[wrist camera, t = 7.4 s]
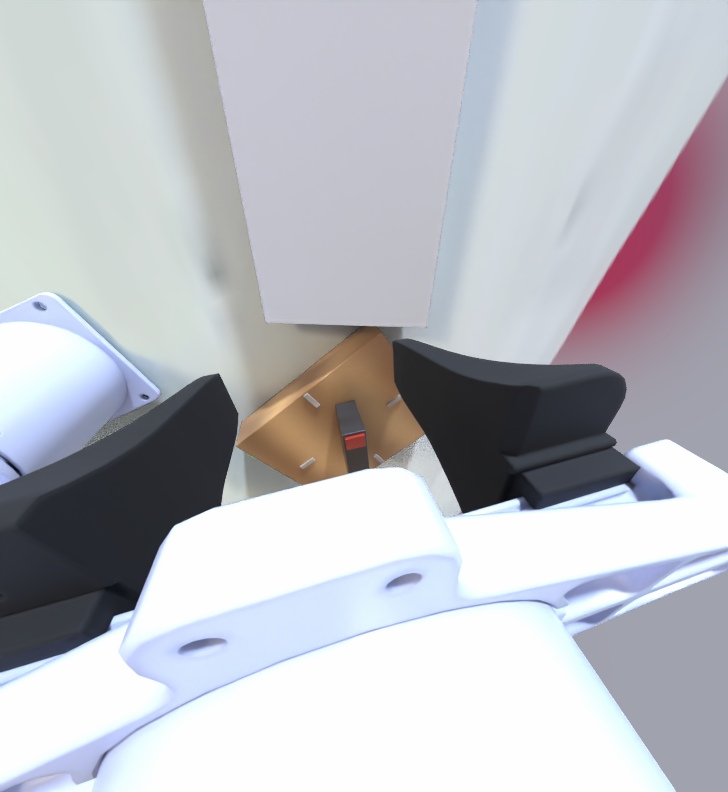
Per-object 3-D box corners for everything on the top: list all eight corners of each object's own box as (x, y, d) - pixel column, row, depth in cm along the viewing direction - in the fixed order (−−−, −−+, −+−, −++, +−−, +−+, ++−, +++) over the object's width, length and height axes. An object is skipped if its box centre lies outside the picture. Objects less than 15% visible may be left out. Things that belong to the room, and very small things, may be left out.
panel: (324, 476, 29) (327, 501, 26) (241, 422, 22) (234, 447, 20) (431, 402, 26) (446, 422, 24) (370, 318, 20) (382, 332, 17)
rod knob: (362, 457, 24) (372, 492, 21) (344, 461, 24) (353, 497, 20) (354, 399, 20) (366, 432, 17) (334, 404, 20) (342, 438, 17)
